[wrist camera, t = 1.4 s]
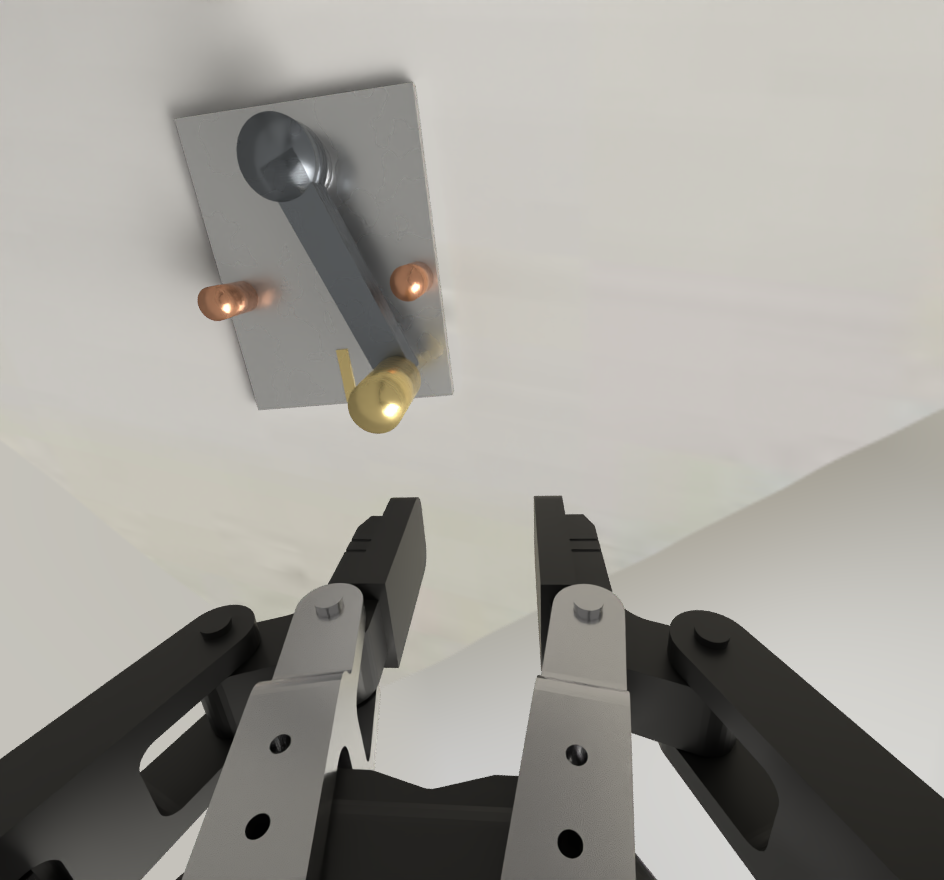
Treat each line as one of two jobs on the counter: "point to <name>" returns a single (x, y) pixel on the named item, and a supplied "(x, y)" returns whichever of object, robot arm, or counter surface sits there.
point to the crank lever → (332, 260)
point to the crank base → (288, 265)
